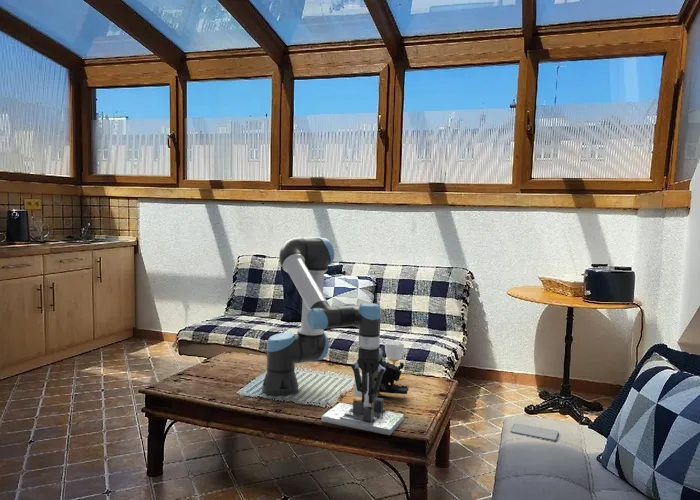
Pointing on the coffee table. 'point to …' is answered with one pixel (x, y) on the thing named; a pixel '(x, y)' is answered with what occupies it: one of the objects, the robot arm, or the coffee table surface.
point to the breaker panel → (361, 426)
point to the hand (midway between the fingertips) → (367, 411)
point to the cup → (394, 351)
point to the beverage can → (358, 393)
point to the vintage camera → (389, 378)
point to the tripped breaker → (357, 405)
